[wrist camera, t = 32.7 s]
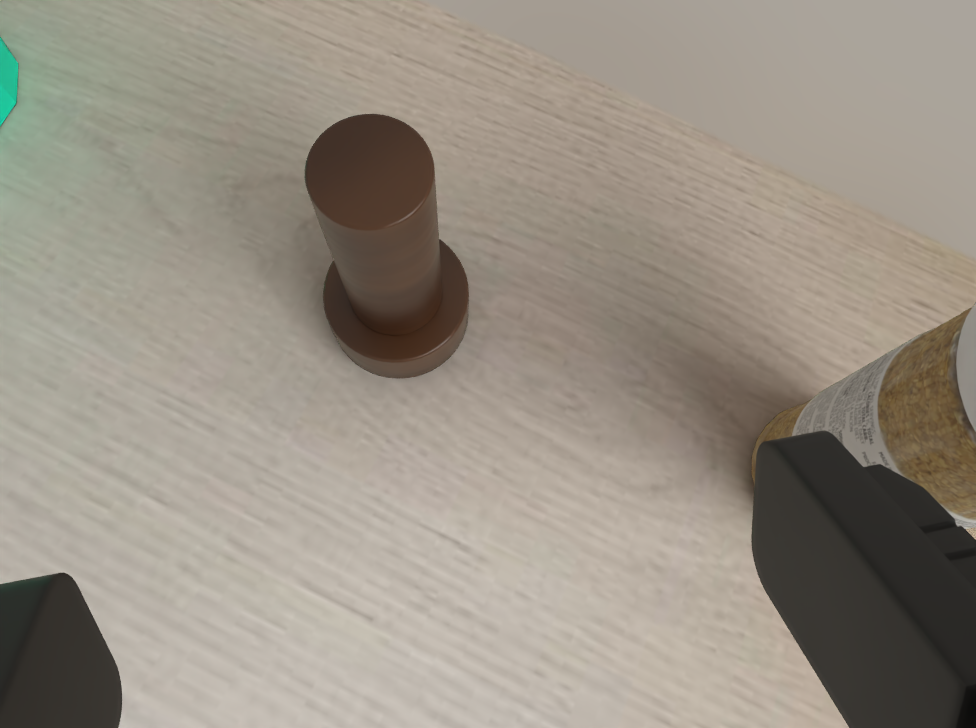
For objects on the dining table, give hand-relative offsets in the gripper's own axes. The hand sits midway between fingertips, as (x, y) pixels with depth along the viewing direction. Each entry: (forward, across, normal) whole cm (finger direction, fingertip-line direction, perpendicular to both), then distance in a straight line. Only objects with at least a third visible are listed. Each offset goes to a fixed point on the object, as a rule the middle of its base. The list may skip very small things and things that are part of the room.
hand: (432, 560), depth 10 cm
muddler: (+17, 0, +5) cm, 18 cm away
